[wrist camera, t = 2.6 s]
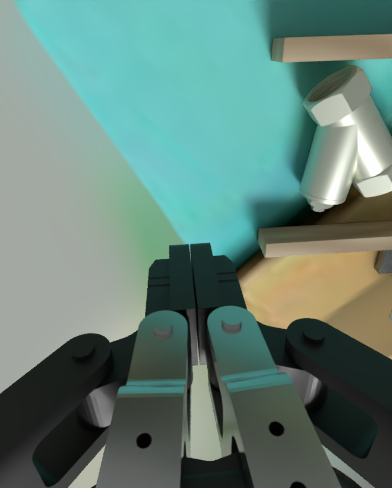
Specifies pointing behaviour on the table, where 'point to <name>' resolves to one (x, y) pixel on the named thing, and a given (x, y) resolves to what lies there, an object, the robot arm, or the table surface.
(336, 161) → the pipe fitting
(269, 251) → the wooden frame
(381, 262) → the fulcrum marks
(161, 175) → the table surface
